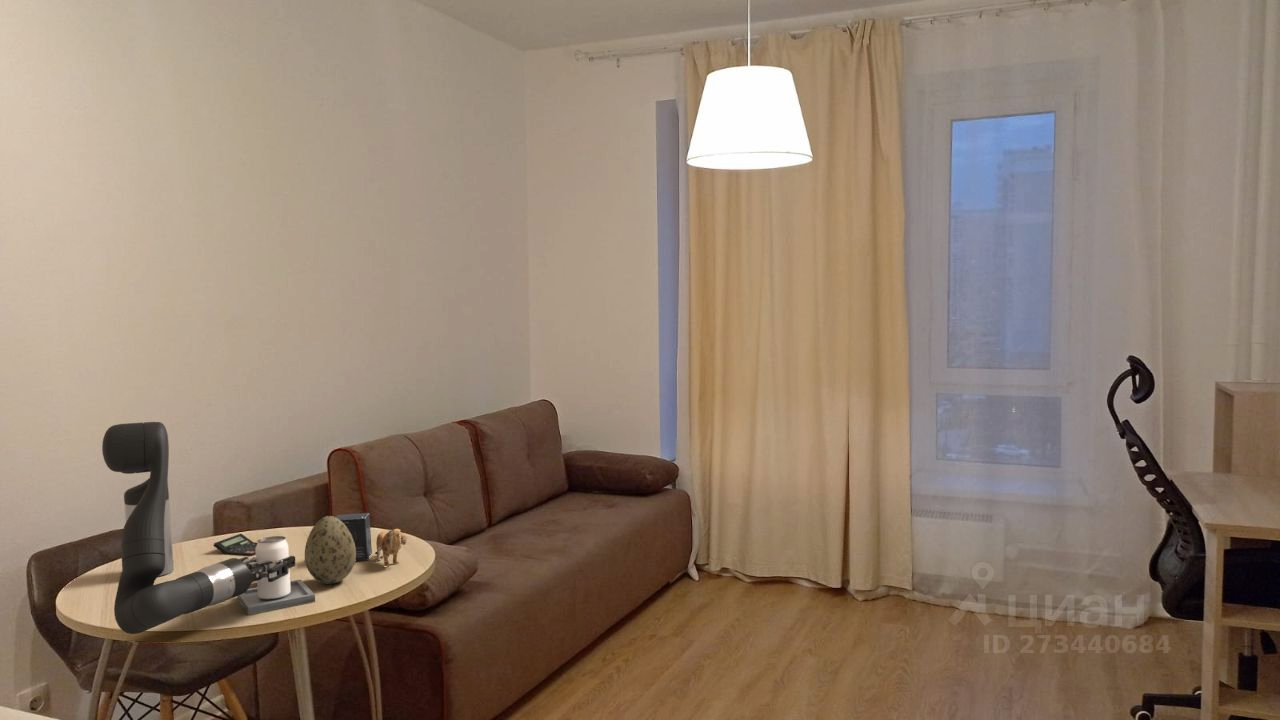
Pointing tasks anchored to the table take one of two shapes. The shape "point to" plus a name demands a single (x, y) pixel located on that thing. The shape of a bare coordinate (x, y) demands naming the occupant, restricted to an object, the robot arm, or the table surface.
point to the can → (273, 551)
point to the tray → (258, 605)
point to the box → (359, 533)
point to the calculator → (237, 546)
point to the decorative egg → (330, 551)
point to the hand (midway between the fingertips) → (282, 559)
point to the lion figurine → (390, 544)
